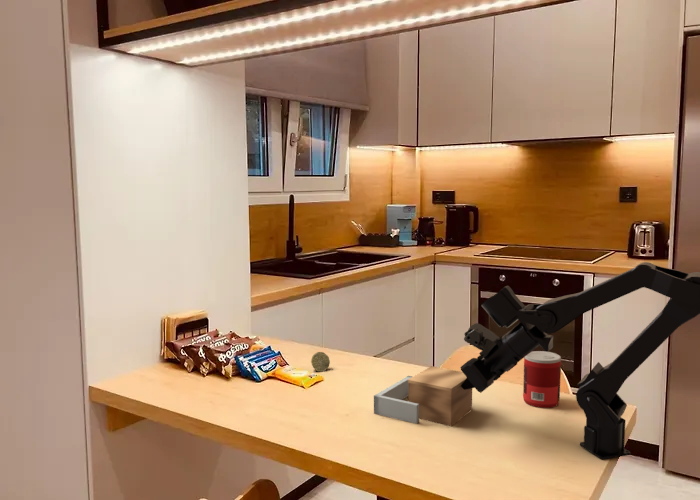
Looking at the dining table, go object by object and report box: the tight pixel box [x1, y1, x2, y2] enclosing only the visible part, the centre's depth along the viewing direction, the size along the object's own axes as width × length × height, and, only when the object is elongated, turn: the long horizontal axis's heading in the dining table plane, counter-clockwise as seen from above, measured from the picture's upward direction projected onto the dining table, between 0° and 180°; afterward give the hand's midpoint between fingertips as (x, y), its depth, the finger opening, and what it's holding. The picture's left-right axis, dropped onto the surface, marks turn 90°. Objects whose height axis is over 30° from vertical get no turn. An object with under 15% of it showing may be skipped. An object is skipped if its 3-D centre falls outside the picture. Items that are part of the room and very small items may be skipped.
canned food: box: [522, 350, 562, 409], centre depth 138 cm, size 8×8×11 cm
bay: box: [373, 375, 420, 424], centre depth 136 cm, size 10×16×4 cm, turn 146°
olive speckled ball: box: [310, 351, 331, 372], centre depth 163 cm, size 4×5×5 cm
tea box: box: [407, 365, 473, 427], centre depth 132 cm, size 10×11×8 cm
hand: (463, 387), depth 129 cm, fingers closed
